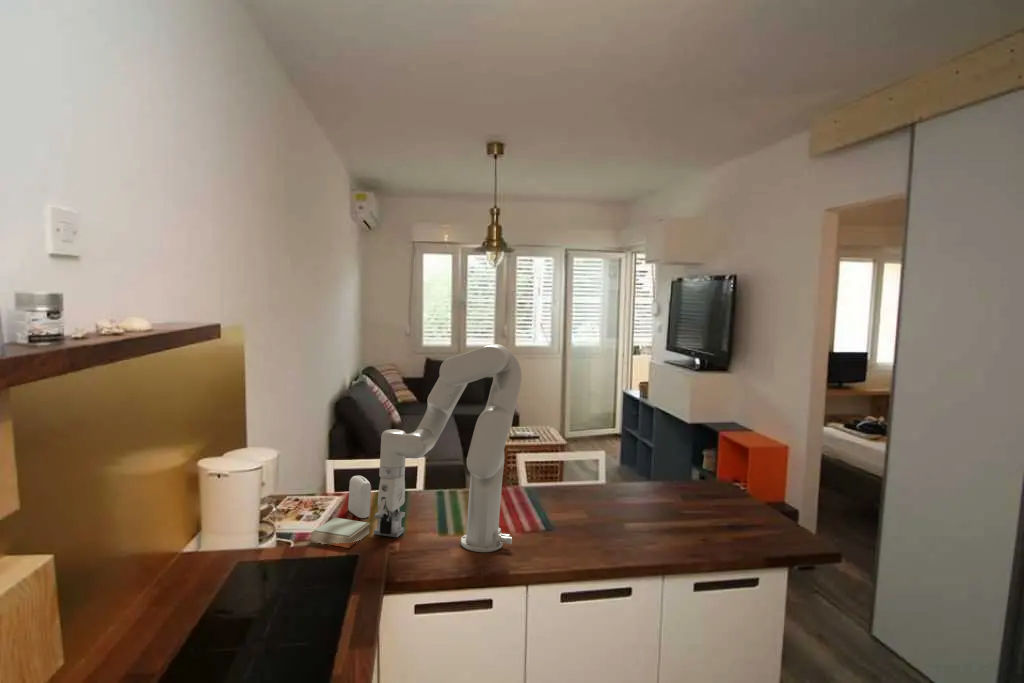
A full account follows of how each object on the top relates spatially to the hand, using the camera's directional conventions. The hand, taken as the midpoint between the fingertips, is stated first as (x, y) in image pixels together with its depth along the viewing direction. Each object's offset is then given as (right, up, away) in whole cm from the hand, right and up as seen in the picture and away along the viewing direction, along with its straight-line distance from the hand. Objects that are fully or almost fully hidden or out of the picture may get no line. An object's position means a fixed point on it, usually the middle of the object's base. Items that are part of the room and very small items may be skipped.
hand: (389, 529), depth 161 cm
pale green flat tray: (-13, 0, -6) cm, 14 cm away
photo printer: (-14, 0, +15) cm, 20 cm away
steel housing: (0, -1, 0) cm, 1 cm away
